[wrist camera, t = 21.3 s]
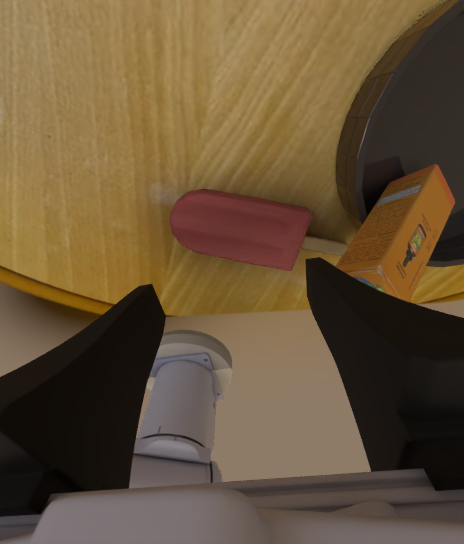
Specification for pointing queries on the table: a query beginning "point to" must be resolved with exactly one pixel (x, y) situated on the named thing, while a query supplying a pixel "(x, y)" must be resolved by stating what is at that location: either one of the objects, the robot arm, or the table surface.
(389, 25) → the table surface
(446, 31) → the pan
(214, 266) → the table surface
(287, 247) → the popsicle
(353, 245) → the supplement box
